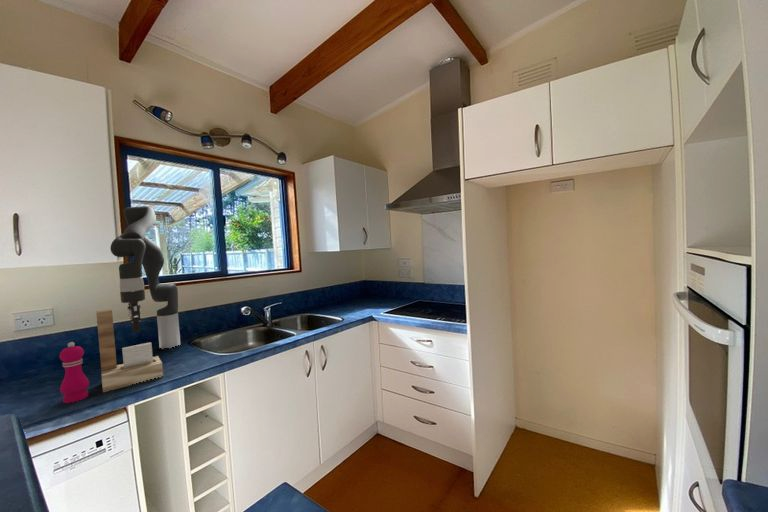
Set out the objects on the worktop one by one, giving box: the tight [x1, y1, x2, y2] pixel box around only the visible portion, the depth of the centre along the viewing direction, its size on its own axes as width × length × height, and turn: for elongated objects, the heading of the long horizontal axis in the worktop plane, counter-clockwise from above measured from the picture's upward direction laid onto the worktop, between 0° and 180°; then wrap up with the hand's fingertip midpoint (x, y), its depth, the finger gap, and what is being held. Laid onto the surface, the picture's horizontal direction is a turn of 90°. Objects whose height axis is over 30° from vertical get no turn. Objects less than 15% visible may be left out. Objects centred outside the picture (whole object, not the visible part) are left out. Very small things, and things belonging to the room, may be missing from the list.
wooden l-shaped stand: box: [96, 309, 164, 393], centre depth 123 cm, size 12×18×28 cm, turn 132°
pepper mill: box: [59, 341, 90, 404], centre depth 109 cm, size 7×7×20 cm
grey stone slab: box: [121, 342, 154, 369], centre depth 125 cm, size 3×9×12 cm, turn 132°
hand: (135, 330), depth 125 cm, fingers open, 8 cm apart
